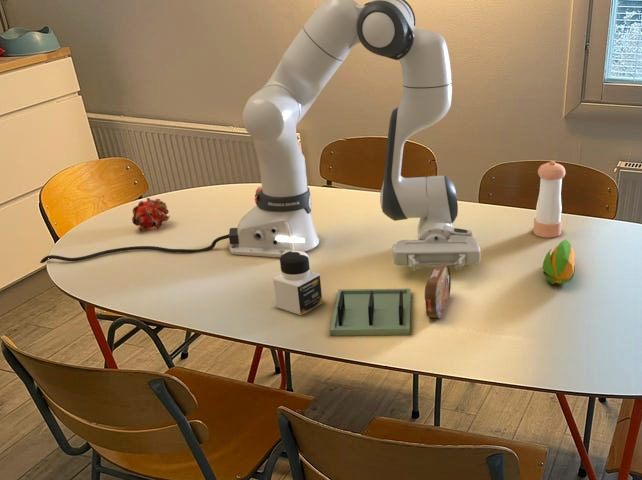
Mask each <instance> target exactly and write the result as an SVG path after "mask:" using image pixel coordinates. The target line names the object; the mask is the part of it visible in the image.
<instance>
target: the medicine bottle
mask: <svg viewBox="0 0 642 480" xmlns="http://www.w3.org/2000/svg"><path fill="white" fill-rule="evenodd" d="M279 263H280V264H279V265H280V272H281V273H280V274H279V275H277V276H274V277H273V279H272V281H273V288H274V296H275V304H276V308H277V309H280V310H283V311H287V312H289V313H293V314H295V315H299V316H303V315H305V314H306V313H308V312H310V311H311V310H313V309H315V308H317V307H318V306H320V305H321V304H323V293H322V284H321V275H320V273H318V272H315V271H311V263H310V256H309V254H308V253H306V251H305V252H301V251H290V252H287V253H284V254H283V255H282V256H281V257H280V258H279Z"/></svg>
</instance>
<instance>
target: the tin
mask: <svg viewBox="0 0 642 480" xmlns="http://www.w3.org/2000/svg"><path fill="white" fill-rule="evenodd" d="M450 270H451V269H450V265H434V267H433V269H432V271H431V273H430V274H429V277H428V278H427V280H426V283H425V288H424V302H425V314H426V316H427V317H428V318H438V319H441V318H442V316H443V314H444V312H445V310H446V307H447V305H448V303H449V301H450V295H451V289H452V288H451V287H452V286H451V285H452V282H451V279H452V278H451V271H450Z"/></svg>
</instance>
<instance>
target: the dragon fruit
mask: <svg viewBox="0 0 642 480" xmlns="http://www.w3.org/2000/svg"><path fill="white" fill-rule="evenodd" d="M169 212H170V211H169V209H168V206H167V203H166V202H164V201H163V200H161V199H160V198H156V199H155V200H154V199H151V198H150V197H146V201H143V200H142V201H139V202H138V204H137V205H136V206H134V207H133V208H132V214H133V215H132V219H131V222H132V224H133V225H134V226H136V227H138V230H139V231H140V232H142V231H149V230H151V229H152V228H156V230H159V229H160V228H161V227H162V226H163V222H167V221H169V219H170V217H171V216H170V215H168V214H169Z"/></svg>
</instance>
